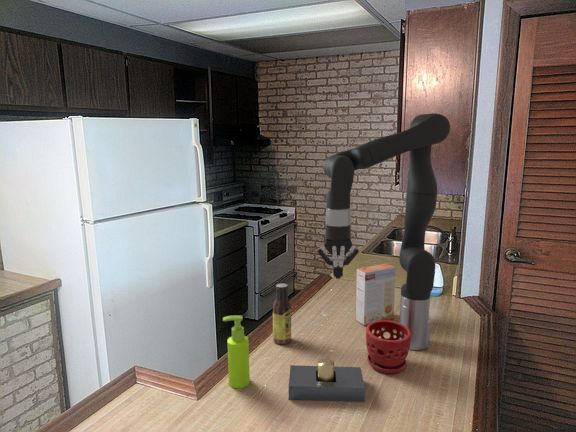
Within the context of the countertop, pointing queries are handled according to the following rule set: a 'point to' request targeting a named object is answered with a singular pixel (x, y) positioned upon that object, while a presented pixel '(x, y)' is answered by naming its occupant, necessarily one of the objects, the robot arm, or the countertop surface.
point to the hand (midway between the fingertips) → (337, 277)
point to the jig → (326, 384)
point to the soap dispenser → (238, 354)
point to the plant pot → (387, 346)
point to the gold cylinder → (325, 370)
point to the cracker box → (375, 293)
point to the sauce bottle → (281, 316)
